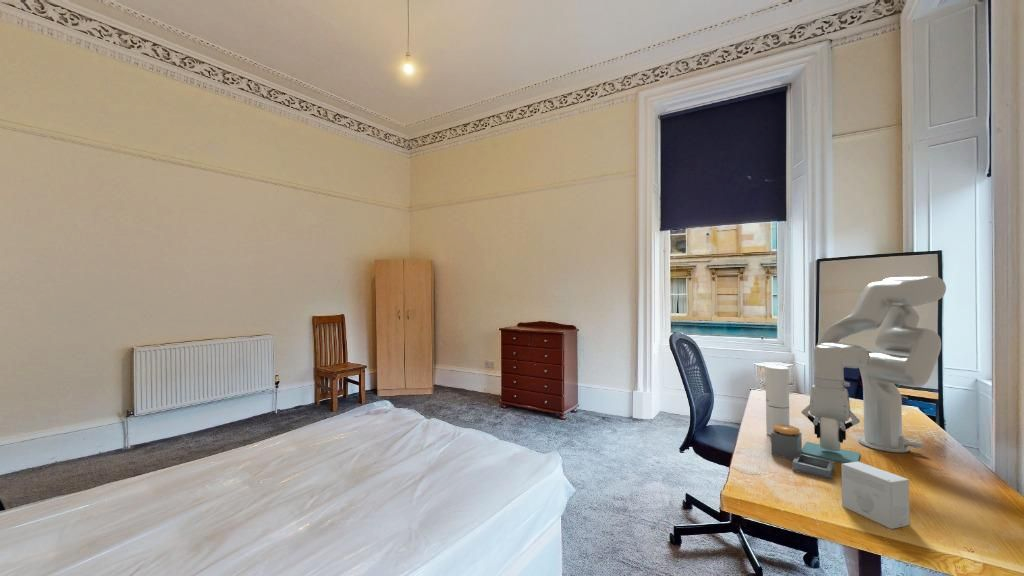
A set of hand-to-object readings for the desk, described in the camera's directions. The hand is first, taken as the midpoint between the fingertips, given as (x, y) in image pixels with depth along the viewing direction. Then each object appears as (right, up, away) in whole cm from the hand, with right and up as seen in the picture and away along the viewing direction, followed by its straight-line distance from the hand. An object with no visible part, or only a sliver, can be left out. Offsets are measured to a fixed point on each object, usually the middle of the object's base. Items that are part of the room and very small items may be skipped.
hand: (829, 438), depth 128 cm
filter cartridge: (0, -3, 0) cm, 3 cm away
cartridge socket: (-14, -5, -11) cm, 19 cm away
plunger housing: (-14, -5, 0) cm, 15 cm away
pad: (0, -5, 0) cm, 5 cm away
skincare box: (-18, -5, -35) cm, 39 cm away
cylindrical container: (-5, -5, +18) cm, 19 cm away
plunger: (-14, -1, 0) cm, 14 cm away
